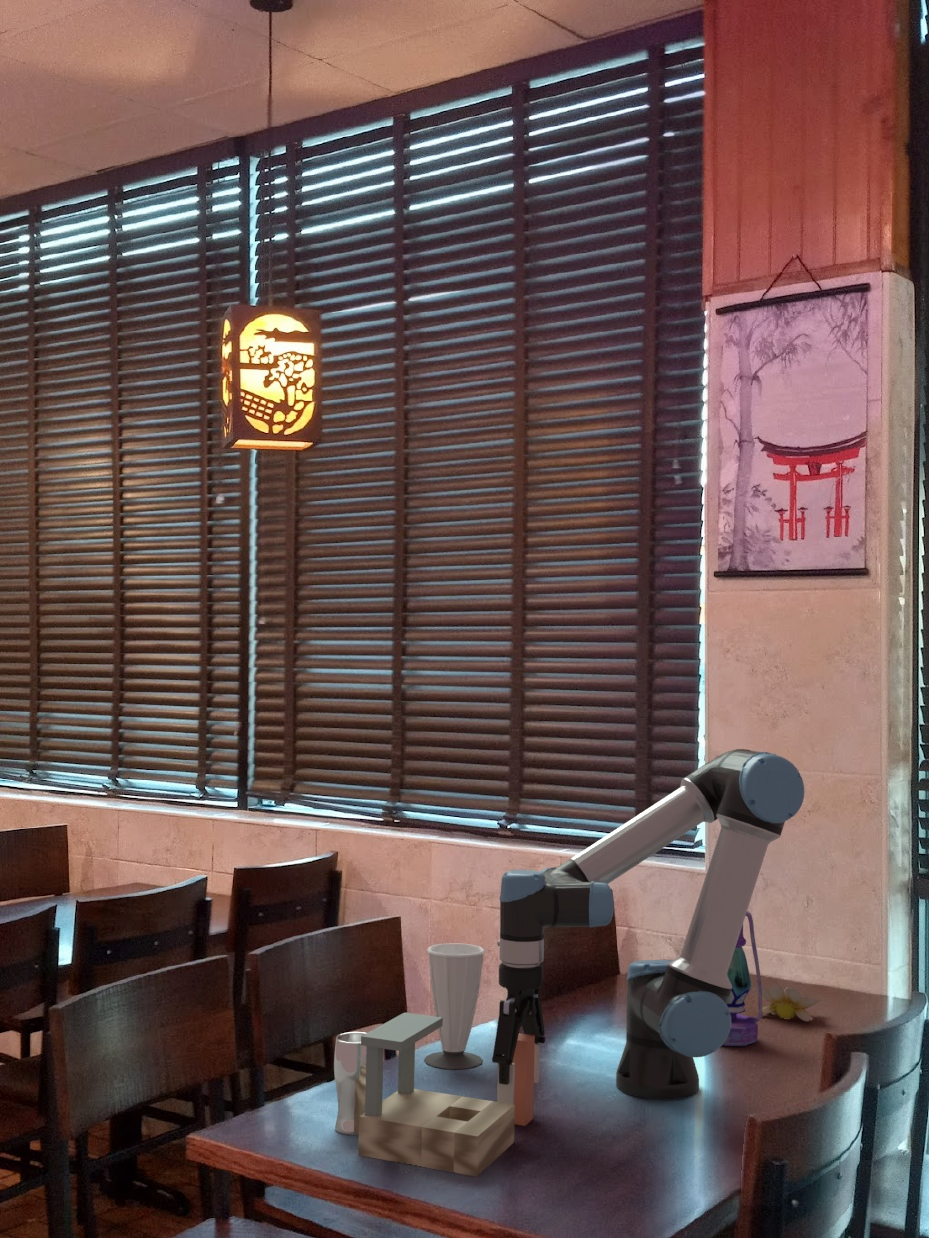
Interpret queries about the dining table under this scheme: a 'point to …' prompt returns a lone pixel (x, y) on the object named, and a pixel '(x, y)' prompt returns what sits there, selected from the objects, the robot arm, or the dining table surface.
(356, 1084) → the beer glass
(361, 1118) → the socket block
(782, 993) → the decorative flower
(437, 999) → the cup
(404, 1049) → the grey toy table
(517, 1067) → the peg
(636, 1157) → the dining table surface
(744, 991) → the lantern
